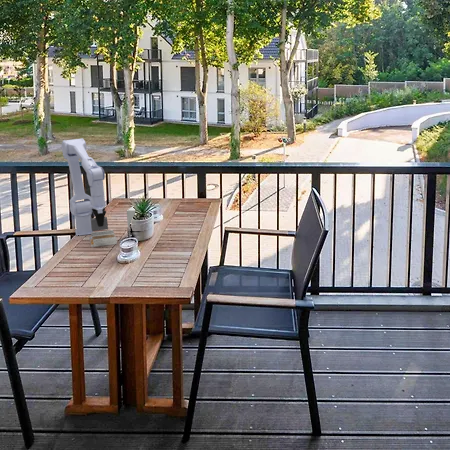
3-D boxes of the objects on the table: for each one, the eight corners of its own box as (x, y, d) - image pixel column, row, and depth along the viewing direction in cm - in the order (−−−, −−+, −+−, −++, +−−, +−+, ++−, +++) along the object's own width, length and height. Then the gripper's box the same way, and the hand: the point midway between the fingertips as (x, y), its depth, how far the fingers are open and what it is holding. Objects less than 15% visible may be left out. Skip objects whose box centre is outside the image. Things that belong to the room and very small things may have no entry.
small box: (139, 232, 301) (137, 210, 298) (128, 232, 302) (126, 210, 299) (144, 227, 308) (143, 206, 305) (133, 227, 309) (132, 206, 306)
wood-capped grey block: (91, 229, 284) (90, 218, 283) (107, 227, 286) (106, 216, 285) (92, 231, 282) (90, 220, 280) (108, 229, 283) (107, 218, 282)
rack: (89, 238, 293) (88, 232, 292) (113, 236, 296) (113, 229, 295) (91, 247, 281) (91, 240, 280) (116, 244, 284) (116, 237, 283)
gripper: (87, 192, 285) (90, 222, 289) (89, 199, 272) (92, 230, 276) (103, 191, 287) (105, 220, 291) (106, 198, 274) (108, 228, 277)
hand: (100, 225), depth 283 cm, fingers closed on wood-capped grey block, 3 cm apart
